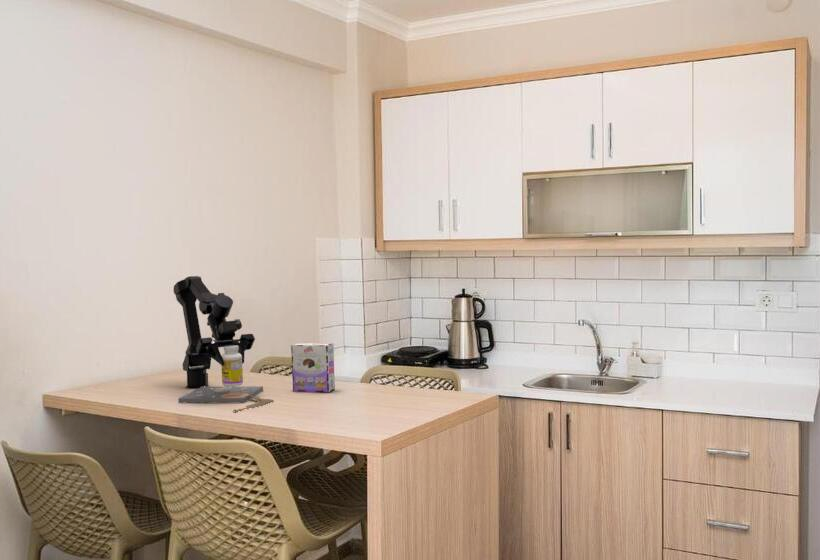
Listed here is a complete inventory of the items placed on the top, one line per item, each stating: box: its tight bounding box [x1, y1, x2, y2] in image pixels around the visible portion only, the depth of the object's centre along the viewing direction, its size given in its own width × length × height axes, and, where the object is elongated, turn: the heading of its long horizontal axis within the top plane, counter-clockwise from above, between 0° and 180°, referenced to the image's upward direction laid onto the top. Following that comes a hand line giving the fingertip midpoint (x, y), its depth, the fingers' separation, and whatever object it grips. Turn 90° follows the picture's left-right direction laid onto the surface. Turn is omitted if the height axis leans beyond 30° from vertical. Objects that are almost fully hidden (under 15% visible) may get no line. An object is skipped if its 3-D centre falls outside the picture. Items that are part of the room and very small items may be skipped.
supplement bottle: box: [221, 345, 244, 387], centre depth 265 cm, size 7×7×13 cm
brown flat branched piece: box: [232, 395, 275, 413], centre depth 257 cm, size 9×20×2 cm, turn 177°
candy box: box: [290, 342, 336, 393], centre depth 280 cm, size 14×6×16 cm, turn 71°
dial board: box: [177, 386, 264, 404], centre depth 273 cm, size 22×21×3 cm
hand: (233, 363), depth 264 cm, fingers closed on supplement bottle, 6 cm apart
